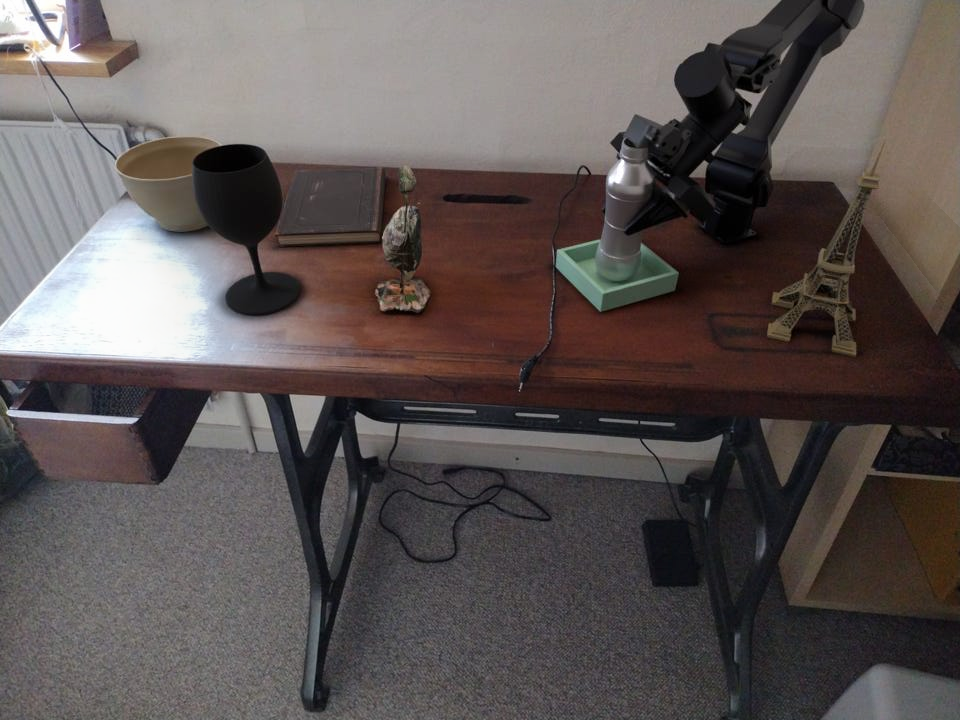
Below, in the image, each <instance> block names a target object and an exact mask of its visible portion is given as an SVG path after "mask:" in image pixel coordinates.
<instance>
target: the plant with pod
mask: <svg viewBox="0 0 960 720" xmlns="http://www.w3.org/2000/svg"><path fill="white" fill-rule="evenodd" d="M397 175H398V176H397V178H398V186H399V187H398V188H399V192H400V194H402V195H404V199H405V205H404V206H401V207H400V208H398V209H397V211H396V212H395V213H393V215H392V217H391V219H390V221H389V222H388V224H386V226H385V228H384V230H383V234H382V235H381V240H382V250H383V254H384V256H385V260H386V263H388V265H390V267H391V268H393V269H395V270H398V271H399V275H398V276H399V280H398V279H397V278H391V279H389V280H383V281H382V280H381V281H379V282H378V285H377V288H376V289H374V295H375V296H376V298H377V299H376V301H377V302H379V304H378V305H379V311H382V312H386V311H387V312H388V311H390V310H392V311H393V310H394V309H396V310H397V311H399V310H400V311H403V310H404V312H407V311H408V312H410V311H411V312H412V311H413V313H417V314H418V313H420V312H422V311H424V310H425V307H426V304H427V301H428V299H429V297H430V296H431V290H430V288H429V287H428V286H426V285H425V282H424V280H422V279H421V278H420V277H418V278H414V279H412V278H413V276H414V275H415V273H416V271H418V267H419V266H420V263H421V260H422V255H423V246H422V220H421V216H420V215H421V214H420V211H419V209H418V207H416V206H413V204H411V205H408V204H409V203H410V199H409V197H410V196H409V195H410V193H412V192H414V190H415V189H416V187H417V179H416V176H415V174H414V172H413V171H412V169H411V167H409V166H408V165H406V164H404V165H402V166H400V167H399V169H398V174H397ZM417 204H418V205H421V202H417Z"/></svg>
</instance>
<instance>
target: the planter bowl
mask: <svg viewBox="0 0 960 720" xmlns="http://www.w3.org/2000/svg"><path fill="white" fill-rule="evenodd" d="M222 145H223V144H222V143H221V142H219V141H217V140H215V139H212V138H209V137H204V136H197V135H196V136H194V135H191V136H190V135H184V136H183V135H181V136H179V135H178V136H167V137H162V138H157V139H153V140H149V141H145V142H143V143H140V144H137V145H135V146H132V147H130V148H128V149H127V150H125V151H124V152H122V153H121V154H119V156H118V157H117V158H116V160H115V162H114V170H115V171H116V174H117V175H118V177H119V178H120V180H121V182H122V184H123V186H124V188H125V190H126V192H127V193H128V196H130V198H131V199H132V200H133V202H134V203H135V204H136V205H137V206H138V207H139V208H140V209H141V210H142V211H143V212H144V213H146V214H147V215H148V216H149V217H151V218H152V219H154V220H155V221H157V223H158V225H159V226H160V227H161V228H163V229H164V230H166V231H170V232H174V233H175V232H176V233H178V232H179V233H182V232H183V233H187V232H193V231H197V230H201V229H204V228H206V227H209V226H208V225H207V223H206V222H205V220H204V219H203V217H202V216H201V214H200V212H199V210H198V207H197V204H196V201H195V197H194V192H193V185H192V162H193V159H194V158H195V157H196V156H197V155H198V154H200V153H201V152H203V151H205V150H208V149H211V148H214V147H218V146H222Z"/></svg>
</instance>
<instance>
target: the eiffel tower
mask: <svg viewBox="0 0 960 720" xmlns="http://www.w3.org/2000/svg"><path fill="white" fill-rule="evenodd" d="M885 143H886V139H884V141H883V143H882V146H881V149H880V151H879V153H878V155H877V157H876V160H875V162H874V163H873V167H872V168H871V171H862V172H861V175H860V176H858V177H857V186H858V190H857V191H856V194H855V195H854V197H853V199H852V201H851V204H850V205H849V207H848V209H847V211H846V213H845V215H844V216H843V218H842V220H841V222H840V223H839V225H838V227H837V229H836V231H835V233H834V235H833V236H832V238H831V240H830V242H829V244H828V245H827V247H826V248H823V247H822V248H821V249H820V251H819V252H818V255H817V262H816V264H815V266H814V267H813V268H812V270H810V272H808V273H807V272H804V275H803V278H802V279H801V280H798V281H797V282H795V283H793V284H790V285H789V286H787V287H785V288H783V289H782V290H780V292H776V291H773V293H772V299H771V305H773V306H776V307H782V308H786V309H790V310H789V311H787V312H786V313H784V314H782V315H780V317H778V318H776V319H775V321H773V322H771V323H770V322H769V323H768V327H767V333H766V338H770V339H775V340H780V341H784V342H787V343H788V342H790V341H791V337H792V330H793V328H794V327H795V326H796V324H797V323H798V321H799V320H800V318H801V317H802V315H803V314H804V312H808V311H812V310H822V311H824V312H826V313H828V314H829V315H830V316H831V317H832V318H833V322H834V323H833V324H834V330H835V331H834V332H835V334H833V336H832V338H831V352H832V353H836V354H841V355H845V356H850V357H853V358H856V356H857V342H856V341H854V336H853V332H852V330H851V327H850V323H849V322H852V323H855V322H856V319H857V318H856V317H857V314H856V308H853V305H852V302H851V299H850V296H849V282H850V281H849V280H850V275H851V274H855V268H856V265H855V252H856V248H857V244H858V240H859V236H860V233H861V229H862V226H863V222H864V218H865V215H866V212H867V208H868V205H869V201H870V199H871V195H872V191H873V190H879V189H880V183H879V182H881V180H880V179H881V178H880V173H876V169H877V166H878V163H879V160H880V158H881V154H882V151H883V148H884V146H885ZM846 237H847V239H846ZM845 239H846V244H845V247H844V252H843V253H842V252H839V250H840V248H841V247H842V245H843V243H844V241H845ZM826 276H830V277H835V278H837V280H835V279H831V278H826ZM796 301H798V302H797V304H796V305H795V302H796Z"/></svg>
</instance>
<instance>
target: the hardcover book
mask: <svg viewBox="0 0 960 720" xmlns="http://www.w3.org/2000/svg"><path fill="white" fill-rule="evenodd" d="M293 172H294V173H293V176H292V179H291V181H290V185H289V187H288V188H289V189H288V192H287V194H286V199H285V202H284V205H283V207H282V210H281V214H280V218H279V220H278V222H277V227H276V230H275V232H274V236H275V237H278V242H277V248H290V247H291V248H293V247H317V246H341V245H369V244H379V243H380V242H381V240H382V231H383V230H382V229H383V216H384V201H385V188H386V170H385V168H383V167H382V166H377V167H347V168H318V169H294V171H293Z"/></svg>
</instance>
